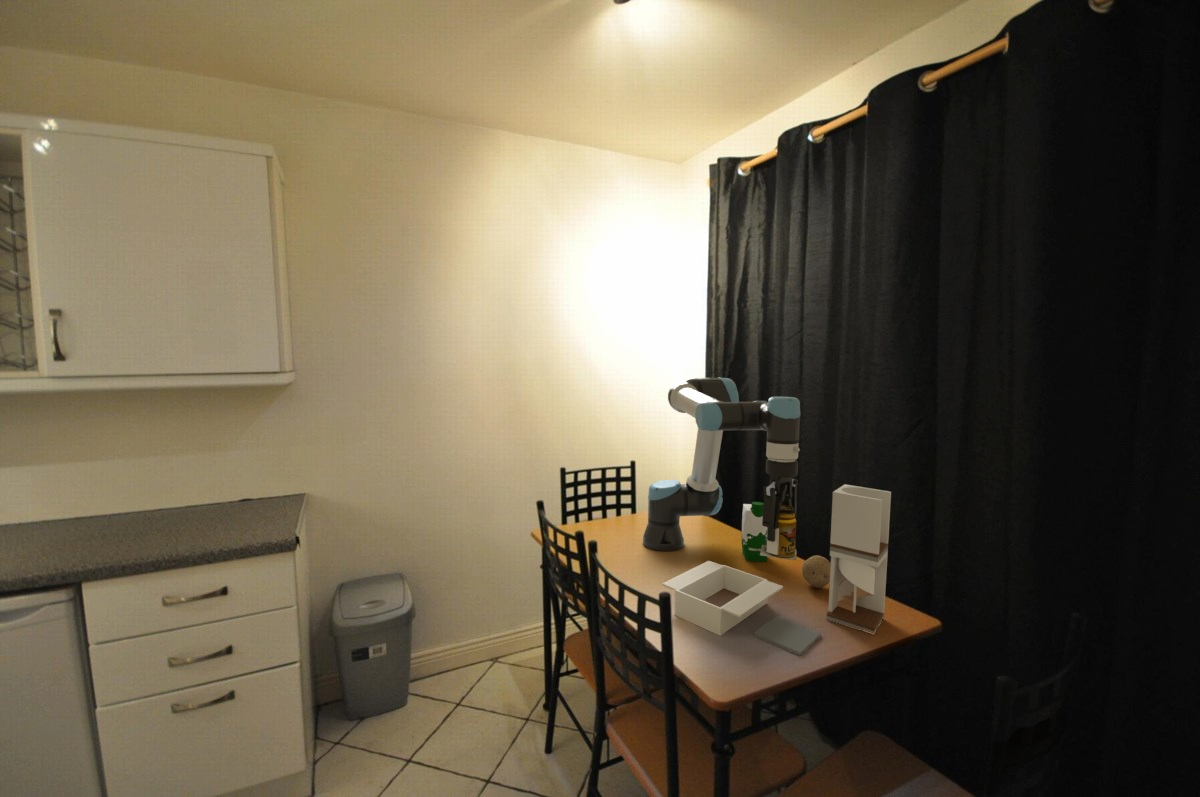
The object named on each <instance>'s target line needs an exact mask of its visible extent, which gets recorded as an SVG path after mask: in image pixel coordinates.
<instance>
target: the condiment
mask: <svg viewBox="0 0 1200 797" xmlns="http://www.w3.org/2000/svg"><path fill="white" fill-rule="evenodd" d="M777 528H779V546H778V555H775V554H772V553H768V552H767V545H762V548H761V552H760V555H761V556H767V557H769V558H776V559H781V560H788V561H797V549H796V539H797V538H796V534H797V533H796V532H797V518H795V509H794V508H793V507H791V506H787V505H781V509H780V514H779V520H778V525H777Z"/></svg>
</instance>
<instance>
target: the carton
mask: <svg viewBox="0 0 1200 797" xmlns="http://www.w3.org/2000/svg"><path fill="white" fill-rule="evenodd" d="M661 586H662V587H665V588H667V589H669V590H672V591H674V593H675V594H674V616H676V617H678V618H680V619H682V620H685V621H687V622H689V623H691V624H694V625H696V626H698V627H700V628H702V629H705V630H706V631H709V632H711V633H713V634H715V635H718V636H720V637H721V636H722V635H723V634H725V633H726V632H727V631H729V630H731V629H732V628H734V626H736V625H738V624H739V623H741V622H742V621H744V620H745V619H747V617H749V616H751V615H752V614H753V613H755V612H756V611H758V610H759V609H761V608H762V607H763V606H765V605H767V603H768V601H767V600H768V599H770V598H771V597H772V596H774V595H775V594H777V593H778V592H779V591H781V590H782V589H784V586H783V585H781V584H777V583H776V582H773V581H769V580H768V579H766V578H763V577H761V576H758V575H755V574H752V573H749V572H747V571H743V570H740V569H736V568H734V567H731V566H728V565H725V564H719V563H717V562H713V561H711V560H706V561H705V562H702V563H701V564H698V565H697V566H695V567H693V568H690V569H688V570H687V571H684V572H682V573H681V574H679V575H676V576H674V577H673V578H670V579H668V580H667V581H664V582H662V583H661ZM723 589H725V590H727V591H730V592H732V593H735V594H738V596H736V597H735V598H733V599H731V600H730V601H728V602H726V603H725V604H724V605H722V606H718V605H715V604H713V603H710V602H708V601H706V599H708V598H710V597H711V596H713V595H715V594H717V593H718V592H720V591H721V590H723Z"/></svg>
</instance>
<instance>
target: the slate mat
mask: <svg viewBox="0 0 1200 797" xmlns="http://www.w3.org/2000/svg"><path fill="white" fill-rule="evenodd" d="M820 636H821V637H822V633H821V632H819V631H816V630H814V629H811V628H809V627H805V626H803V625H801V624H798V623H795V622H792V621H790V620H787V619H785V618H782V617H780V616H777V615H775V616H774V617H773V618H772V619H770V620H769V621H768V622H766V623H764V624H763V625H762V626H761V627H759V628H758V629H757V630H756V631H754V632H753V637H756V638H757V639H760V640H762V641H764V642H767V643H769V644H771V645H774V646H776V647H778V648H781V649H783V650H785V649H786V651H788V652H790V651H791V652H790V653H792V652H793V653H792V654H795V653H796V654H795V655H797V654H799V655H801V654H802V653H803V652H804V651H805V650H806V649H807V648H808V647H809V648H810V647H812V645H814V644H815V643H816V642H817V641H818V640H819V639H820V638H821V637H820ZM819 637H820V638H819ZM818 638H819V639H818ZM817 639H818V640H817ZM816 640H817V641H816ZM815 641H816V642H815ZM814 642H815V643H814ZM809 648H808V649H809ZM808 649H807V650H808ZM807 650H806V651H807ZM806 651H805V652H806ZM805 652H804V653H805ZM804 653H803V654H804ZM799 655H798V656H799ZM801 656H802V655H801Z"/></svg>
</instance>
